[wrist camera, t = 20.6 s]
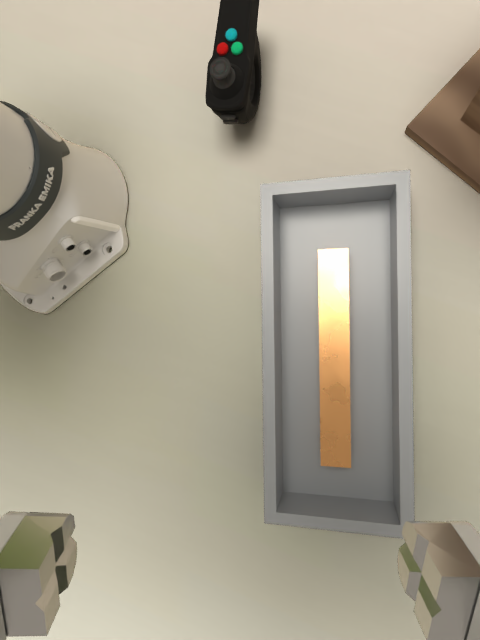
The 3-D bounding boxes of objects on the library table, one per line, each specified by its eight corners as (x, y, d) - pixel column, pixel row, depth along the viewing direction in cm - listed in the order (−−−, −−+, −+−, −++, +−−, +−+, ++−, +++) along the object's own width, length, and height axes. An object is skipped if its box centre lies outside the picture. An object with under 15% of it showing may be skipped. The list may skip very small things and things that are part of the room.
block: (350, 458, 43) (351, 468, 40) (321, 456, 44) (320, 465, 41) (347, 252, 43) (348, 248, 40) (319, 254, 44) (317, 249, 41)
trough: (404, 509, 43) (414, 539, 37) (273, 497, 46) (264, 523, 40) (400, 190, 43) (409, 169, 37) (270, 201, 46) (260, 184, 40)
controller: (224, 143, 47) (194, 97, 38) (236, 37, 47) (210, -36, 37) (259, 144, 46) (238, 97, 37) (272, 35, 46) (255, -40, 36)
